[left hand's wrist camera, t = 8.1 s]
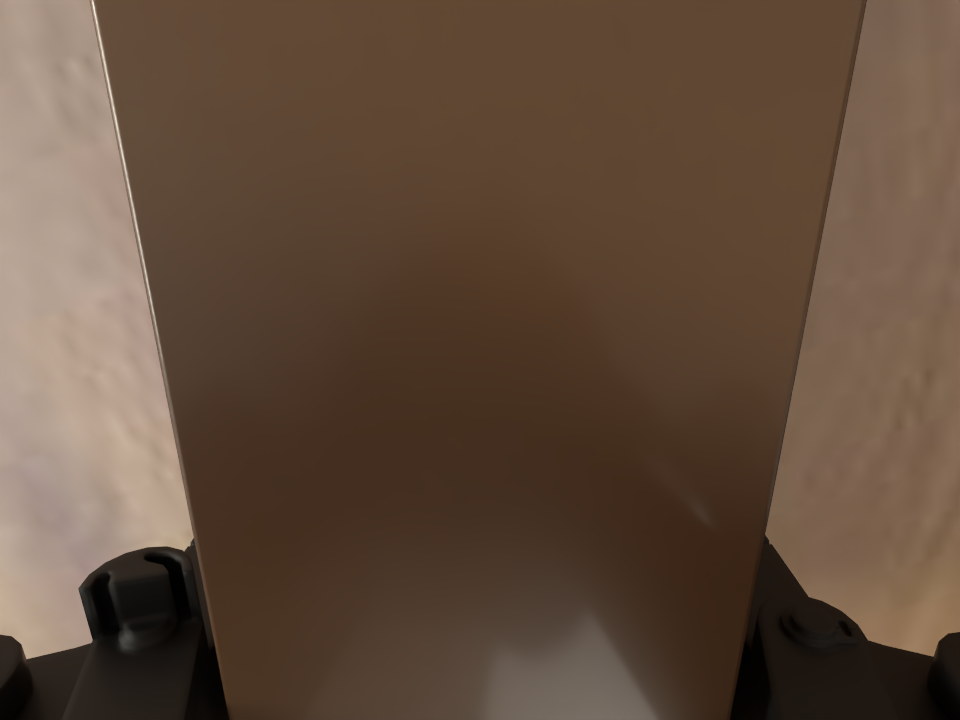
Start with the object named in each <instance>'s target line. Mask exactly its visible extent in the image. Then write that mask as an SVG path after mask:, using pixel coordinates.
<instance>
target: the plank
mask: <svg viewBox="0 0 960 720" xmlns="http://www.w3.org/2000/svg"><path fill="white" fill-rule="evenodd" d="M866 2H867V0H90V4H91V10H92V15H93V20H94V25H95V30H96V35H97V40H98V46H99V51H100V56H101V61H102V66H103V71H104V77H105V82H106V87H107V92H108V97H109V102H110V107H111V113H112V118H113V123H114V128H115V133H116V138H117V144H118V149H119V154H120V159H121V164H122V169H123V174H124V180H125V185H126V190H127V195H128V200H129V205H130V211H131V216H132V221H133V226H134V231H135V236H136V241H137V247H138V252H139V257H140V262H141V267H142V272H143V278H144V283H145V288H146V293H147V298H148V303H149V308H150V314H151V319H152V324H153V329H154V334H155V339H156V345H157V350H158V355H159V360H160V365H161V370H162V375H163V381H164V386H165V391H166V396H167V401H168V406H169V412H170V417H171V422H172V427H173V432H174V437H175V442H176V448H177V453H178V458H179V463H180V468H181V473H182V479H183V484H184V489H185V494H186V499H187V504H188V509H189V515H190V520H191V525H192V530H193V535H194V540H195V546H196V551H197V556H198V561H199V566H200V571H201V576H202V582H203V587H204V592H205V597H206V602H207V607H208V613H209V618H210V623H211V628H212V633H213V638H214V643H215V649H216V654H217V659H218V664H219V669H220V674H221V680H222V685H223V690H224V695H225V700H226V705H227V710H228V716H229V720H730V716H731V710H732V705H733V700H734V695H735V689H736V684H737V679H738V674H739V668H740V663H741V658H742V653H743V647H744V642H745V637H746V632H747V626H748V621H749V616H750V611H751V605H752V600H753V595H754V590H755V584H756V579H757V574H758V569H759V563H760V558H761V553H762V548H763V542H764V537H765V532H766V527H767V521H768V516H769V511H770V506H771V500H772V495H773V490H774V485H775V479H776V474H777V469H778V464H779V458H780V453H781V448H782V443H783V437H784V432H785V427H786V422H787V416H788V411H789V406H790V401H791V395H792V390H793V385H794V380H795V374H796V369H797V364H798V359H799V353H800V348H801V343H802V338H803V332H804V327H805V322H806V317H807V311H808V306H809V301H810V296H811V290H812V285H813V280H814V275H815V269H816V264H817V259H818V254H819V248H820V243H821V238H822V233H823V227H824V222H825V217H826V212H827V206H828V201H829V196H830V191H831V185H832V180H833V175H834V170H835V164H836V159H837V154H838V149H839V143H840V138H841V133H842V128H843V122H844V117H845V112H846V107H847V101H848V96H849V91H850V86H851V80H852V75H853V70H854V65H855V59H856V54H857V49H858V44H859V38H860V33H861V28H862V23H863V17H864V12H865V7H866Z"/></svg>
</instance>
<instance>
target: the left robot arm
mask: <svg viewBox="0 0 960 720" xmlns="http://www.w3.org/2000/svg"><path fill="white" fill-rule="evenodd" d="M79 593H80V596H81V600H82V603H83V607H84V610H85V614H86V617H87V621H88V625H89V628H90V632H91V635H92V639H93V641H92V643H90V644H87V645H84V646H80V647H77V648H73V649H69V650H65V651H61V652H56V653H52V654H48V655H43V656H39V657H35V658H31V659H26V657H25V654H24V651H23V648H22V645H21V644H20V643H19V642H18V641H17V640H15V639H14V638H13V637H12V636H5V635H0V720H229V716H228V710H227V705H226V700H225V695H224V690H223V685H222V680H221V674H220V669H219V664H218V659H217V654H216V649H215V643H214V638H213V633H212V628H211V623H210V618H209V613H208V607H207V602H206V597H205V592H204V587H203V582H202V576H201V571H200V566H199V561H198V556H197V551H196V546H195V540H194V539H193V540H192V542H191V546H190V547H187V549H186V550H185V552H184V551H183V550H179V549H175V548H171V547H148V548H144V549H140V550H136V551H132V552H128V553H125V554H123V555H121V556H119V557H117V558H114V559H112V560H110V561H108V562H106V563H104V564H103V565H102V566H100V567H99V568H98V569H96V570H95V571H94V572H92V573H91V574H89V576H88V577H87V578H86V579H85V581H84V582H83V583H82V585H81V586H80V587H79ZM730 720H960V632H957V633H950V634H947V635H946V636H945V637H944V638H943V639H941V640H940V641H939V642H938V645H937V648H936V651H935V654H934V657H932V656H928V655H923V654H919V653H915V652H910V651H906V650H902V649H898V648H893V647H889V646H885V645H881V644H878V643H875V642H871V641H868V640H867V638H866V637H865V635H864V634H863V632H862V631H861V629H860V628H859V626H858V625H857V624H856V623H855V622H854V621H853V620H851V619H850V618H849V617H848V616H847V615H846V614H844V613H843V612H842V611H840V610H838V609H836V608H834V607H833V606H831V605H829V604H827V603H825V602H823V601H820V600H817V599H813V598H810V597H808V595H807V594H806V593H805V591H804V590H803V588H802V587H801V585H800V584H799V583H798V581H797V580H796V578H795V577H794V575H793V574H792V573H791V571H790V570H789V568H788V567H787V565H786V564H785V563H784V561H783V560H782V558H781V557H780V555H779V554H778V553H777V551H776V550H775V548H774V547H773V546H772V544H769V540H768V538H767V537H766V536H765V537H764V542H763V548H762V553H761V558H760V563H759V569H758V574H757V579H756V584H755V590H754V595H753V600H752V605H751V611H750V616H749V621H748V626H747V632H746V637H745V642H744V647H743V653H742V658H741V663H740V668H739V674H738V679H737V684H736V689H735V695H734V700H733V705H732V710H731V716H730Z"/></svg>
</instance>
